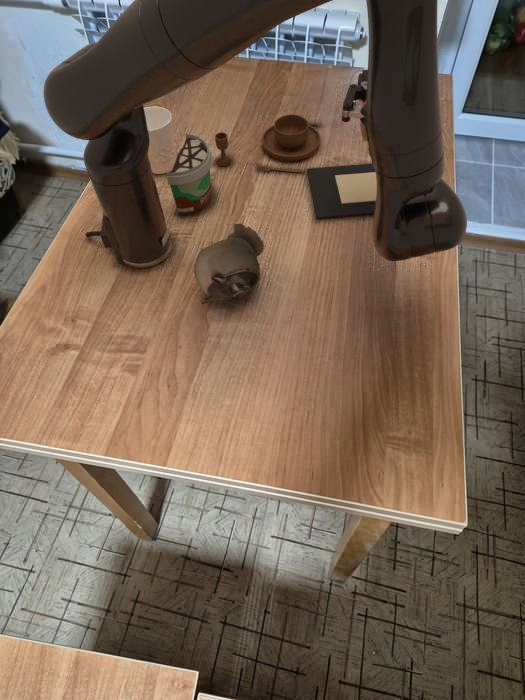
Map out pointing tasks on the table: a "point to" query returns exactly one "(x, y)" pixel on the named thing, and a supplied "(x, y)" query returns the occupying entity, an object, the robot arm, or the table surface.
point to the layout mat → (343, 190)
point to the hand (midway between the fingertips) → (380, 75)
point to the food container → (191, 176)
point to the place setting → (281, 141)
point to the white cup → (160, 139)
